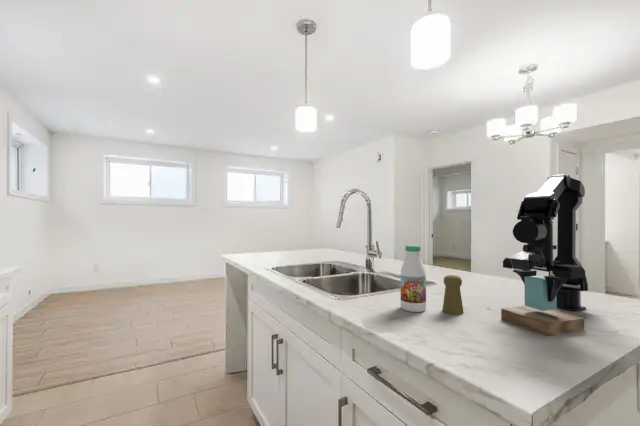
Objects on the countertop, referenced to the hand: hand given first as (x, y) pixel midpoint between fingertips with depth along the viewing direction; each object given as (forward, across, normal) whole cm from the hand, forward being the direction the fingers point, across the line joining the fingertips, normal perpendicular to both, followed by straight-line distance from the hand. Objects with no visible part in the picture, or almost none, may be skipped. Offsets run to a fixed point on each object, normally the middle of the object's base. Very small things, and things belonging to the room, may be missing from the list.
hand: (540, 299), depth 83 cm
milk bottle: (+7, -22, -24) cm, 34 cm away
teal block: (+2, 0, 0) cm, 2 cm away
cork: (+7, -16, -14) cm, 23 cm away
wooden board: (+7, 0, 0) cm, 7 cm away
